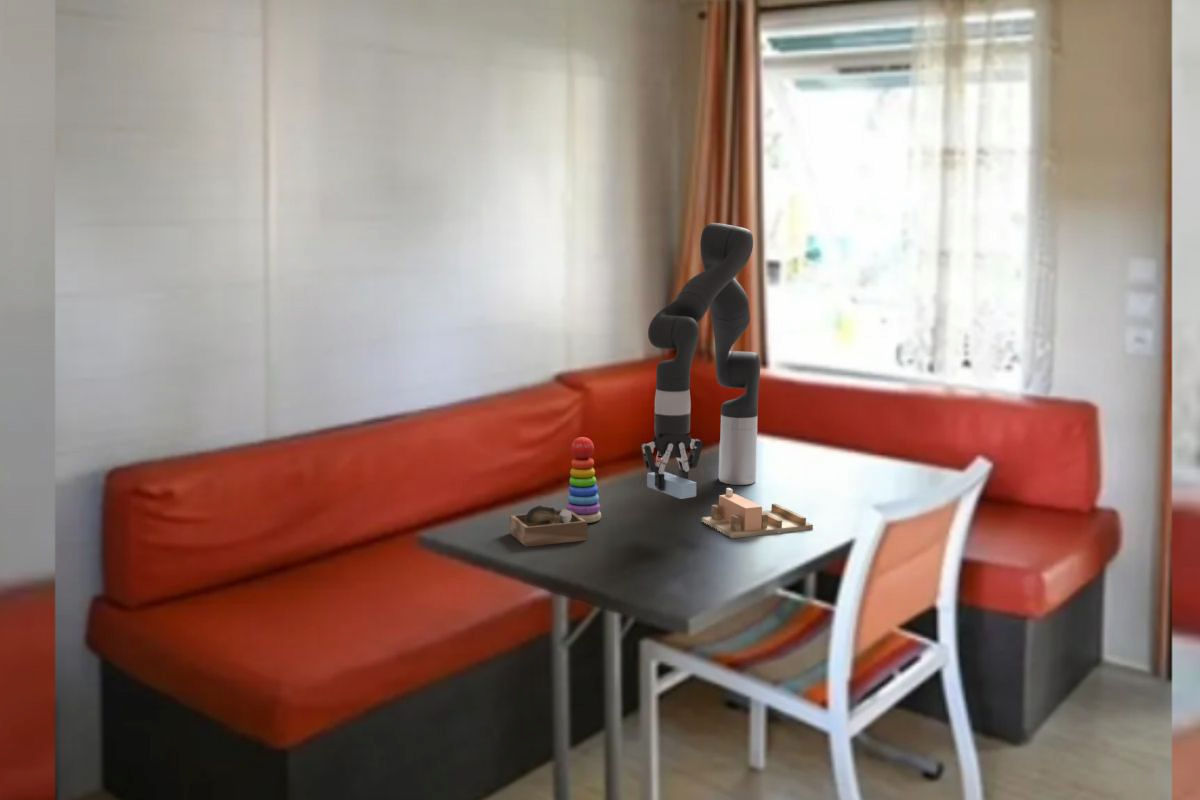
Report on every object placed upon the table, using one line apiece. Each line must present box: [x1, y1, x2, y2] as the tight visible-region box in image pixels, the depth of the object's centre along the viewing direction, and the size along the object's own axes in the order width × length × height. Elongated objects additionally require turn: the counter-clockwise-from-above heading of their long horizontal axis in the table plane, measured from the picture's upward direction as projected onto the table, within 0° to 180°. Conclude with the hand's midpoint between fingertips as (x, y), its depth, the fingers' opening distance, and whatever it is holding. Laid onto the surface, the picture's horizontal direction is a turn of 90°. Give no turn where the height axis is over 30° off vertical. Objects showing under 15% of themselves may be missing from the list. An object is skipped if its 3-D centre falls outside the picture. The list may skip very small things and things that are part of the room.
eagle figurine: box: [525, 505, 572, 525], centre depth 253 cm, size 8×7×9 cm
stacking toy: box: [566, 436, 602, 524], centre depth 266 cm, size 8×8×19 cm
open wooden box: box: [509, 509, 588, 548], centre depth 254 cm, size 11×14×4 cm
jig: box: [701, 503, 814, 539], centre depth 264 cm, size 14×20×4 cm
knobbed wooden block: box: [718, 487, 763, 531], centre depth 262 cm, size 12×4×6 cm, turn 22°
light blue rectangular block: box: [646, 471, 697, 500], centre depth 254 cm, size 12×4×3 cm, turn 34°
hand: (671, 488), depth 255 cm, fingers closed on light blue rectangular block, 4 cm apart
